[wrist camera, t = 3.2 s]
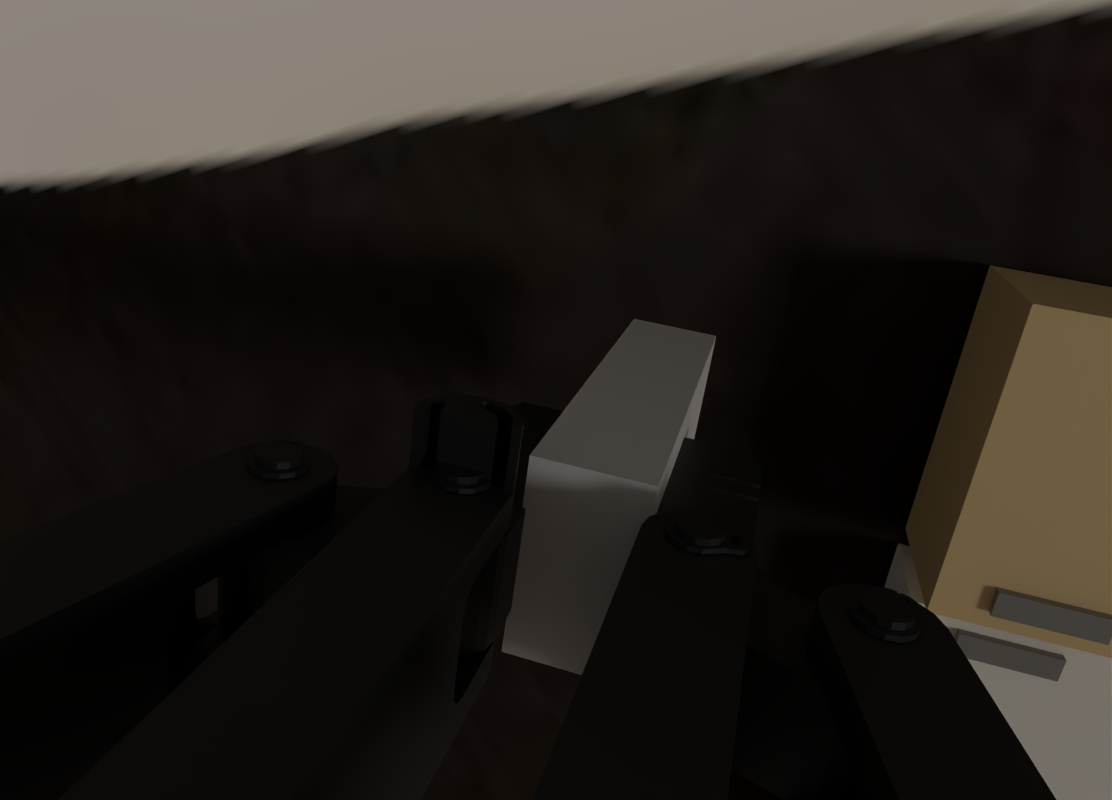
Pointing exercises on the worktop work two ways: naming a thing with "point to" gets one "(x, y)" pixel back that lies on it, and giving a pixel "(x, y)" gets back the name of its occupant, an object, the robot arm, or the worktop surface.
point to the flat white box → (1038, 695)
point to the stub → (1024, 468)
